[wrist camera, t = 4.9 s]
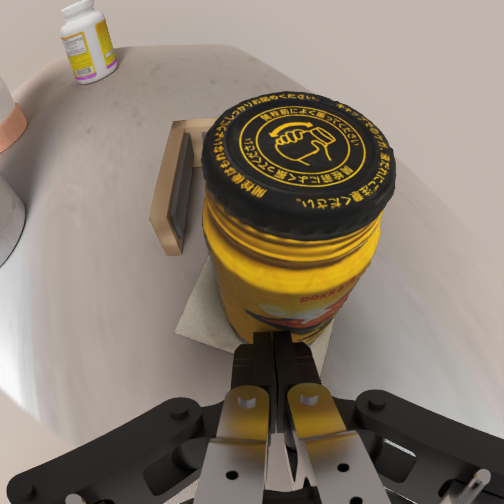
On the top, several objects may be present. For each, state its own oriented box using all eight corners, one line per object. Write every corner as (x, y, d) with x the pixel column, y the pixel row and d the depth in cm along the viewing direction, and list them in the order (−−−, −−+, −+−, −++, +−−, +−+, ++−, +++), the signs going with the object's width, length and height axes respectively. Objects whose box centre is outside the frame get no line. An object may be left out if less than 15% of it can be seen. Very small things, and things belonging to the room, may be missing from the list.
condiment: (318, 378, 15) (431, 291, 5) (174, 333, 17) (65, 193, 7) (345, 265, 19) (415, 101, 9) (219, 231, 20) (190, 60, 10)
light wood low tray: (166, 255, 20) (149, 218, 16) (182, 159, 24) (173, 121, 21) (357, 249, 19) (375, 212, 16) (333, 156, 24) (341, 117, 21)
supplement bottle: (111, 61, 38) (94, -6, 27) (123, 69, 35) (105, -6, 24) (74, 79, 36) (52, 13, 25) (82, 90, 33) (56, 14, 22)
